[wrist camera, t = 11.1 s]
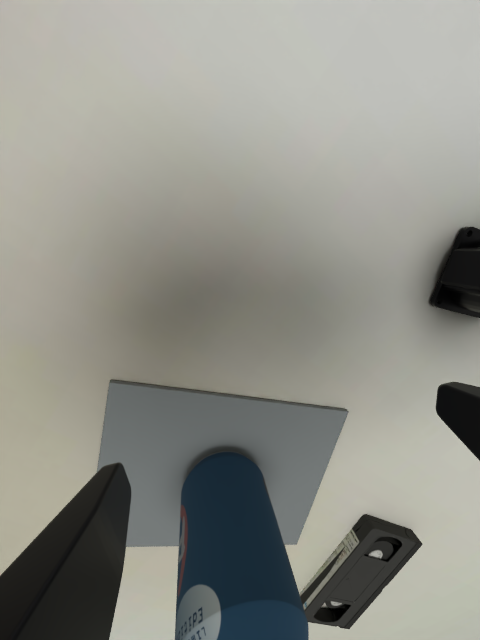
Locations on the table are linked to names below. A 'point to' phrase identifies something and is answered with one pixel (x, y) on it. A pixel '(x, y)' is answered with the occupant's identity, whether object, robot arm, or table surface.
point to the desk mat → (212, 450)
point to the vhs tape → (358, 571)
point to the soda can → (233, 558)
